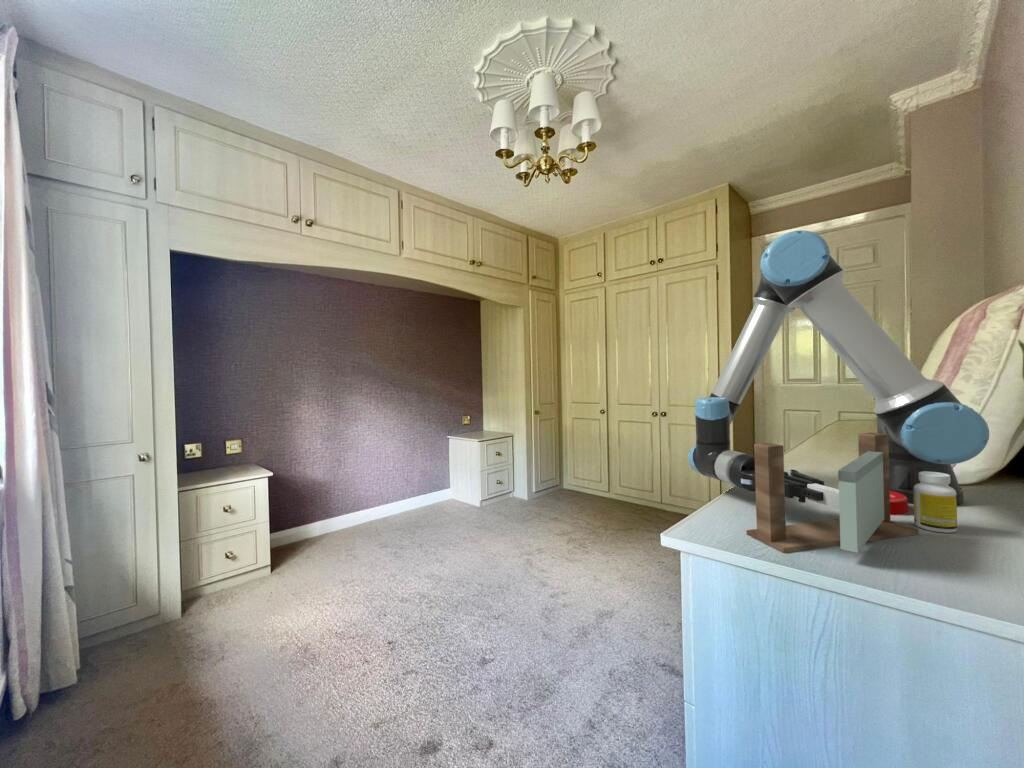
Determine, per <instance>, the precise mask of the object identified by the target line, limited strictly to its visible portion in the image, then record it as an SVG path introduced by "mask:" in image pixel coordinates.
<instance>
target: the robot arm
mask: <svg viewBox="0 0 1024 768" xmlns="http://www.w3.org/2000/svg"><path fill="white" fill-rule="evenodd" d="M759 267H760V271H761V272H760V278H759V283H758V287H757V289H756V292H754V293H755V294H754V296H753V297H752V300H753V303H754V305H753V308H752V309H751V311H750V314H749V316H748V317H747V320H746V322H745V323H744V326H743V328H742V329H741V332H740V334H739V336H738V339H737V340H736V342H735V344H734V347H732V350H731V352H730V355H729V356H728V358H727V361H726V362H725V365H724V367H723V368H722V370H721V373H720V375H719V377H718V379H717V381H716V382H715V385H714V387H713V388H712V391H711V393H710V395H709V396H708V397H699V398H697V399H696V400H695V403H694V405H695V407H694V415H695V436H696V438H695V439H696V440H695V441H696V442H695V444H694V445H693V446H692V447H691V448H690V449H689V452H688V455H687V461H688V465H689V466H690V468H691V469H692V470H693V471H694V472H697V473H699V474H701V475H703V476H705V477H708V478H711V479H712V478H713V479H715V480H718V481H721V482H723V483H726V484H729V485H730V486H731V487H732V488H735V487H737V488H738V489H739V488H740V489H743V490H745V491H747V492H752V493H753V492H755V493H756V486H755V455H752V454H747V453H744V452H739V451H736V450H735V451H734V450H731V424H732V422H733V421H734V419H735V418H734V417H735V416H736V414H737V412H738V409H739V408H740V405H741V404H742V401H744V398H745V396H746V393H747V392H748V390H749V388H750V387H751V384H752V382H753V380H754V378H755V377H756V375H757V373H758V370H759V369H760V367H761V365H762V364H763V361H764V360H765V357H766V355H767V353H768V352H769V350H770V349H771V346H772V344H773V342H774V340H775V338H776V336H777V334H778V332H779V331H780V328H781V327H782V324H783V323H784V322H785V319H786V317H787V315H789V314H791V313H793V312H794V311H795V309H798V310H800V311H801V312H802V313H803V315H804V316H805V317H806V318H807V319H808V321H810V323H811V324H812V325H813V326H814V328H815V330H817V332H818V333H819V334H820V335H821V336H822V338H824V339H825V341H826V342H827V343H828V345H829V346H830V347H831V348H832V349H833V351H834V352H835V353H836V354H837V356H839V358H840V359H841V360H842V362H843V363H844V364H845V365H846V367H848V368H849V370H850V371H851V372H852V374H853V375H854V376H855V377H856V379H857V380H858V381H859V382H860V383H861V385H862V386H863V387H864V388H865V389H866V391H867V392H868V393H869V395H870V396H871V397H872V398H873V399H874V401H875V405H874V408H873V413H874V414H875V416H876V430H877V432H876V433H880V434H888V448H889V485H890V491H893V492H897V493H900V494H902V495H904V496H906V497H907V499H908V504H909V503H911V504H914V486H915V485H916V484H918V483H920V480H919V472H923V471H928V472H939V473H945V474H948V475H950V481H951V482H950V484H948V485H949V487H952V488H953V489H954V490H955V491H956V496H957V505H961V504H963V503H964V501H965V499H964V498H965V497H964V496H965V495H964V490H963V488H962V487H961V486H960V484H959V481H958V478H957V475H956V473H955V472H954V469H953V466H952V465H955V464H961V463H964V462H967V461H970V460H971V459H973V458H975V457H977V456H978V455H979V454H981V453H982V452H983V451H984V450H985V448H986V446H987V445H988V443H989V440H990V428H989V425H988V423H987V422H986V420H985V418H984V417H983V416H982V415H981V414H980V413H979V412H978V411H976V410H974V408H972V407H970V406H968V405H966V404H963V403H961V401H960V400H959V399H958V398H957V397H956V395H954V393H953V391H951V389H949V387H947V386H946V385H945V383H944V382H943V381H939V380H933V379H929V378H926V376H924V375H923V373H922V372H921V371H920V370H919V369H918V368H917V367H916V366H915V364H914V363H913V362H912V361H911V360H910V358H908V356H907V355H906V354H905V353H904V352H903V350H902V349H900V347H899V346H898V345H897V344H896V343H895V342H894V340H893V339H892V338H891V337H890V336H889V335H888V333H887V331H885V330H884V329H883V328H882V327H881V325H880V324H879V323H878V322H877V321H876V320H875V319H874V317H872V315H871V314H870V313H869V312H868V311H867V309H866V308H865V307H864V306H863V305H862V304H861V302H859V301H858V299H857V298H856V296H854V295H853V293H852V292H851V291H850V290H849V289H848V288H847V287H846V285H844V283H843V278H844V275H845V270H844V269H843V268H842V267H841V266H840V265H839V263H837V261H836V260H835V258H833V257H832V256H831V251H830V247H829V245H828V243H827V242H826V239H824V238H823V236H821V235H820V234H818V233H815V232H814V231H810V230H794V231H793V230H792V231H789V232H785V233H783V234H782V235H780V236H778V237H777V238H775V239H774V240H772V242H771V243H770V244H768V246H766V249H765V250H764V252H763V253H762V255H761V259H760V265H759ZM784 484H785V498H787V499H794V498H798V503H802V504H803V503H804V504H805V503H806V502H807V501H806V499H807V500H809V501H812V502H814V503H815V502H816V503H818V504H822V505H825V506H828V507H831V508H833V509H837V510H839V488H838V489H837V488H834V487H831V486H826V485H825V481H823V480H821V479H819V478H814V477H811V475H810V476H809V475H807V474H805V473H801V472H799V471H798V470H795V469H790V470H788V472H787V471H785V470H784Z"/></svg>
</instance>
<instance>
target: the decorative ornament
mask: <svg viewBox="0 0 1024 768" xmlns="http://www.w3.org/2000/svg"><path fill="white" fill-rule="evenodd" d="M908 513H909V502H908V499H907V497H906V496H904V495H902V494H900V493H897V492H893V491H890V516H896V515H897V516H901V515H905V514H908Z"/></svg>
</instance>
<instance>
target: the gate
mask: <svg viewBox="0 0 1024 768" xmlns="http://www.w3.org/2000/svg"><path fill="white" fill-rule="evenodd" d="M837 473H838V475H837V476H838V490H839V509H838V510H839V519H840V545H839V546H840V549H841V550H844V551H848V552H853V553H859V551H860V550H861V549H862V548H863V546H864V545H865V544H866V543H867V542H868V541H867V540H868V539H869V538H870V537H871V535H872V534H873V533H874V532H875V530H876V529H877V528H878V527H879V525H880V524H881V523H882V522H883V520H884V483H883V452H872V451H868V452H866V453H865V454H863V455H861V456H860V457H859V456H858V457H857V458H855V459H854V460H852V461H850V462H849V463H848V464H846V465H844V466H843V467H841V468H840V469H838V470H837Z"/></svg>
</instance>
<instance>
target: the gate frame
mask: <svg viewBox="0 0 1024 768" xmlns="http://www.w3.org/2000/svg"><path fill="white" fill-rule="evenodd" d="M857 438H858V439H857V442H858V446H857V447H858V457H860V456H861V455H863V454H865V453H866V452H868V451H872V452H883V483H884V520H883V522H882V523H881V524H880V525H879V527H878V528H877V529H876V530H875V532H874V533H873V534H872V535H871V537H870V538H869V539H868V540H867V542H873V541H879V540H885V539H886V540H887V539H893V538H900V537H906V536H907V537H908V536H914V535H919V534H920V533H919V529H917V528H915V527H912V526H908V525H906V524H905V525H904V524H902V523H898V522H896V521H892V520H891V515H890V485H889V448H888V434H880V433H877V432H861V433H860V432H859V433H858V435H857ZM753 448H754V449H753V450H754V453H753V454H754V455H753V456H755V486H756V491H755V510H756V513H755V515H756V528H755V529H754V528H752V529H747V530H745V532H746V536H748V535H749V536H748V537H750V536H751V538H752V537H753V538H752V539H754V540H757V541H759V542H761V543H763V544H765V545H767V546H769V547H771V548H773V549H775V550H777V551H779V552H780V553H790V552H799V551H806V550H813V549H814V550H815V549H821V548H827V547H835V546H840V518H836V519H835V518H834V519H826V520H818V521H811V522H809V521H808V522H801V523H793V524H787V523H786V519H787V518H786V497H785V484H784V471H785V460H784V458H785V456H784V445H782V444H776V443H772V442H764V443H763V442H762V443H754V444H753Z"/></svg>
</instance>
